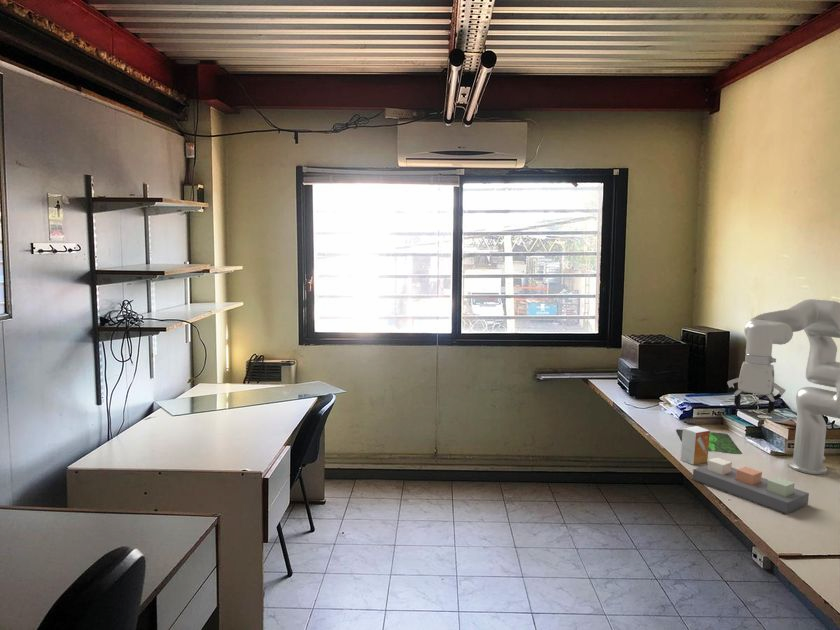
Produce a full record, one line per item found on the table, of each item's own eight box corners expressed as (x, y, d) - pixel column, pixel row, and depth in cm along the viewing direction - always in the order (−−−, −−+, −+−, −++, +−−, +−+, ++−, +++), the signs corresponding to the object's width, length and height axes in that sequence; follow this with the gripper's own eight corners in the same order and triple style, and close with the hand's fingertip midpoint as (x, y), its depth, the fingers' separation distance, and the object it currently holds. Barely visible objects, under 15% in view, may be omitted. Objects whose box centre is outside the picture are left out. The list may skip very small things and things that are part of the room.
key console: (714, 472, 221) (715, 462, 220) (807, 504, 194) (808, 493, 193) (692, 479, 213) (693, 469, 213) (786, 514, 186) (787, 502, 186)
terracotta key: (744, 480, 207) (745, 466, 206) (760, 486, 202) (761, 472, 202) (735, 483, 204) (736, 469, 203) (751, 489, 199) (753, 475, 199)
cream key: (715, 470, 216) (716, 457, 215) (730, 475, 211) (731, 462, 211) (706, 473, 213) (707, 460, 212) (721, 478, 208) (723, 465, 208)
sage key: (775, 491, 198) (776, 476, 198) (793, 497, 194) (794, 482, 193) (766, 494, 195) (768, 480, 195) (784, 501, 191) (786, 486, 190)
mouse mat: (744, 455, 240) (744, 453, 240) (685, 450, 245) (686, 448, 245) (726, 435, 266) (727, 433, 266) (674, 430, 271) (674, 428, 271)
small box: (693, 465, 227) (696, 432, 226) (679, 459, 233) (682, 428, 231) (708, 462, 231) (710, 430, 229) (694, 457, 237) (696, 425, 235)
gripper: (789, 362, 195) (785, 412, 197) (732, 354, 206) (728, 402, 208) (785, 365, 189) (780, 417, 191) (726, 357, 200) (722, 406, 202)
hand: (753, 409), depth 200 cm, fingers open, 9 cm apart
